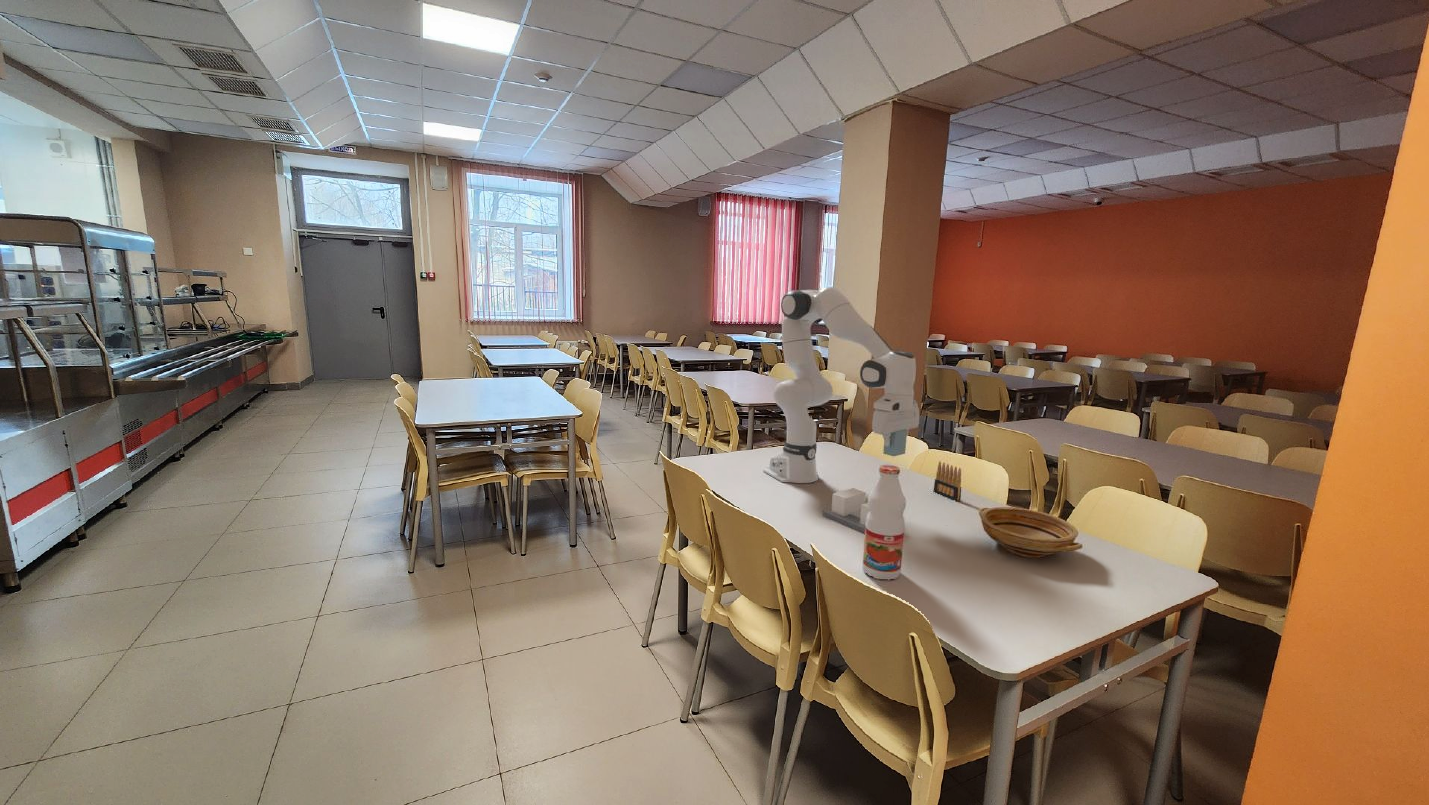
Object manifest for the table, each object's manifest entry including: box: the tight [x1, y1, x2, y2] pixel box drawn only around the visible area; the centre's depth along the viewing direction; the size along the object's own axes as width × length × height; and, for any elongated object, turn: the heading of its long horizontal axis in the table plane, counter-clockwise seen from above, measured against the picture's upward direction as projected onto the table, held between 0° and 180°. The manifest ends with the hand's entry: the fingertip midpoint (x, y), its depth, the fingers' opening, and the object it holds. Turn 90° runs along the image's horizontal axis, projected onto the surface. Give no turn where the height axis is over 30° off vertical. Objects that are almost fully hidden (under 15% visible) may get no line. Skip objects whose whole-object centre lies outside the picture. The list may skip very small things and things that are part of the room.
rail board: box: [822, 487, 869, 534], centre depth 177 cm, size 20×14×8 cm
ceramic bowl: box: [978, 506, 1083, 558], centre depth 159 cm, size 30×24×8 cm
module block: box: [882, 429, 908, 457], centre depth 181 cm, size 4×6×8 cm, turn 127°
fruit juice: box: [862, 464, 907, 581], centre depth 141 cm, size 9×9×28 cm
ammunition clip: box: [933, 460, 962, 503], centre depth 200 cm, size 11×2×12 cm, turn 25°
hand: (894, 444), depth 181 cm, fingers closed on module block, 6 cm apart
